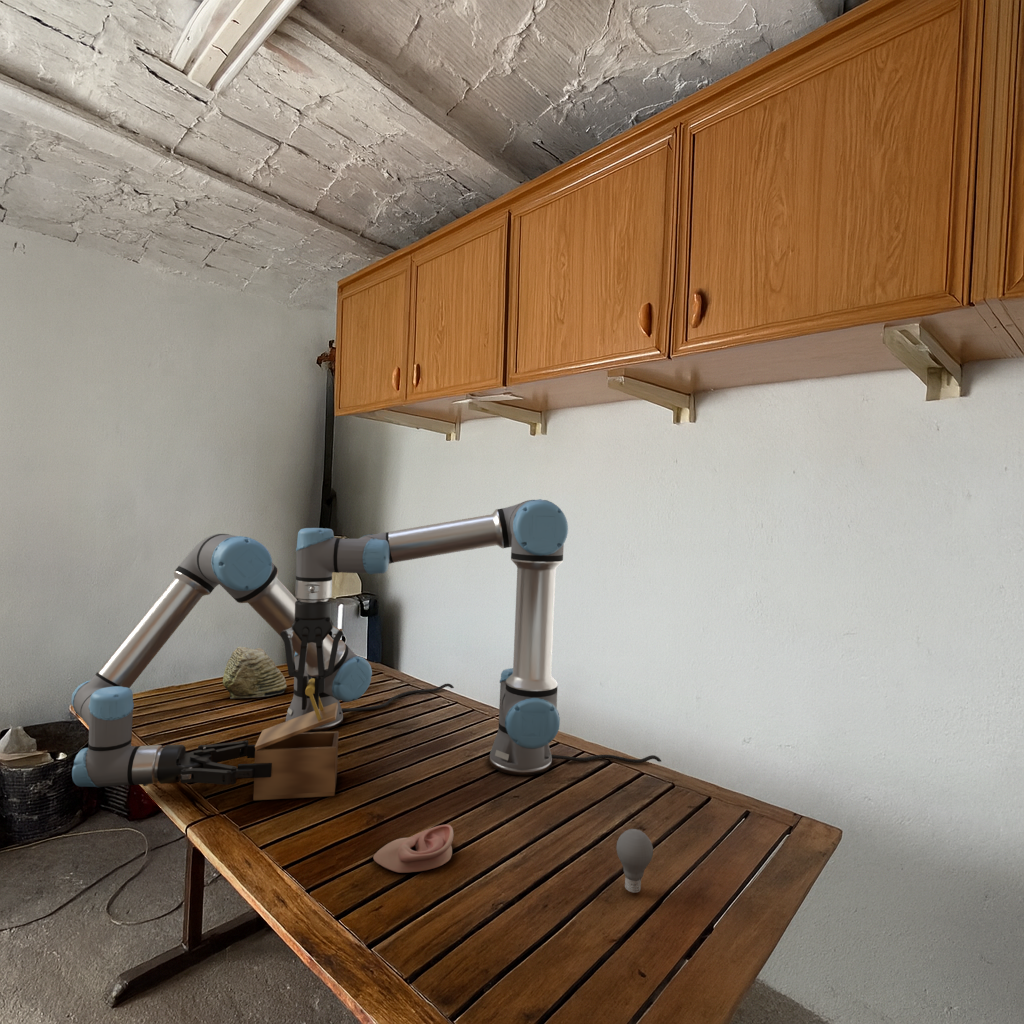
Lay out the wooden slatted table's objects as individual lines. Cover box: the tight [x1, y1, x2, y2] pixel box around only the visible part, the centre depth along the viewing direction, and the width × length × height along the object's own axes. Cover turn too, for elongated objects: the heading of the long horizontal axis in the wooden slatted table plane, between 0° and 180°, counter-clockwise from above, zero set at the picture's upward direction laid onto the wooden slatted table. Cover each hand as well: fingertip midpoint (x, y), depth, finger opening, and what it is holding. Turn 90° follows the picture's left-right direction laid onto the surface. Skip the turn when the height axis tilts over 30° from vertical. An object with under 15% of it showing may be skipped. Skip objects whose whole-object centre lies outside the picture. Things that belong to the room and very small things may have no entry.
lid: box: [254, 678, 338, 750], centre depth 137 cm, size 17×10×8 cm, turn 102°
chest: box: [252, 730, 340, 801], centre depth 137 cm, size 16×10×10 cm, turn 102°
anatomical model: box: [372, 824, 455, 874], centre depth 113 cm, size 13×4×12 cm
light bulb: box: [615, 828, 654, 894], centre depth 106 cm, size 6×6×10 cm
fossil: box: [222, 646, 288, 699], centre depth 198 cm, size 9×18×15 cm, turn 132°
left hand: (275, 759), depth 136 cm, fingers closed on chest, 10 cm apart
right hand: (310, 707), depth 137 cm, fingers closed on lid, 2 cm apart
